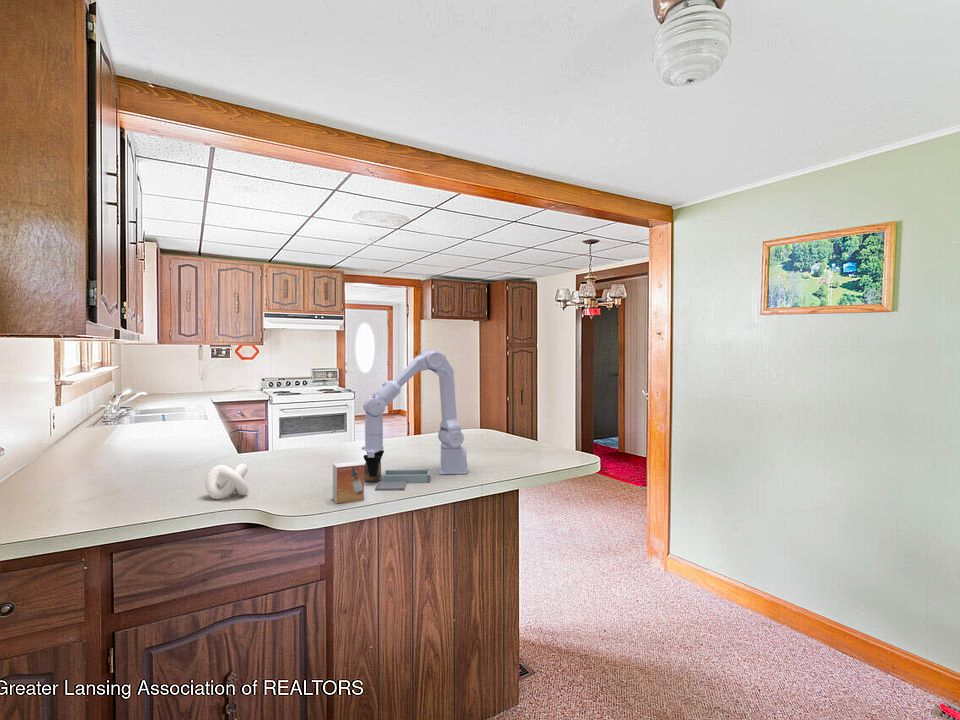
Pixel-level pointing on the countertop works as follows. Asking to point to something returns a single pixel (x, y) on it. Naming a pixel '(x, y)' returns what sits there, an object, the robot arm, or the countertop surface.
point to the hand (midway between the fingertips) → (374, 474)
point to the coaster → (391, 485)
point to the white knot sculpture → (226, 481)
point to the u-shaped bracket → (408, 476)
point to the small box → (348, 482)
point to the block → (367, 476)
